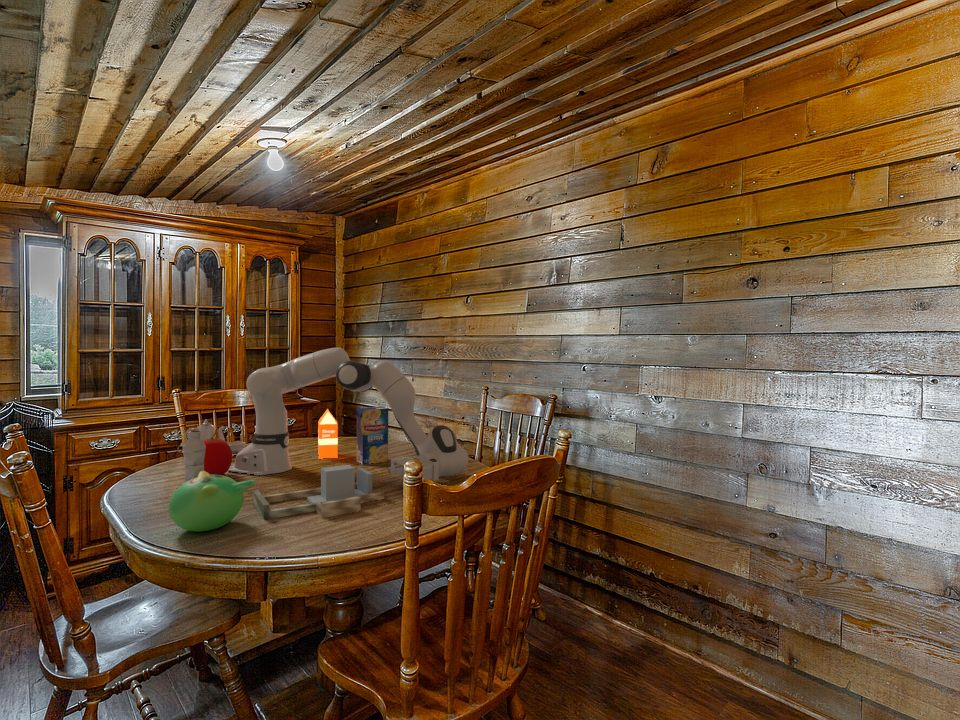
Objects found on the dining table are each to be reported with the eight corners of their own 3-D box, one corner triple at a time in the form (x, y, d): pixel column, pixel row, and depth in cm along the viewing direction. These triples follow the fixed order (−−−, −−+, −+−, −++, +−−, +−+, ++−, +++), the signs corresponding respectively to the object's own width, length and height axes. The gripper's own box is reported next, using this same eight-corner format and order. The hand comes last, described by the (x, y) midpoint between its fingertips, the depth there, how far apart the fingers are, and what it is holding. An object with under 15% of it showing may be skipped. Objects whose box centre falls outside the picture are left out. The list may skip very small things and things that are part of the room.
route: (365, 486, 178) (365, 475, 178) (393, 505, 159) (393, 492, 159) (252, 503, 158) (252, 490, 158) (269, 527, 139) (269, 512, 139)
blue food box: (388, 461, 214) (388, 408, 213) (362, 465, 208) (362, 409, 207) (381, 458, 220) (381, 406, 219) (356, 461, 214) (356, 407, 213)
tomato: (188, 480, 182) (187, 440, 181) (200, 472, 193) (199, 434, 193) (226, 479, 184) (226, 439, 183) (236, 471, 195) (236, 433, 195)
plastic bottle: (211, 491, 170) (210, 430, 169) (191, 497, 163) (191, 433, 163) (197, 489, 172) (197, 428, 171) (178, 494, 166) (177, 432, 165)
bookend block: (361, 491, 174) (361, 461, 173) (372, 498, 166) (372, 467, 165) (306, 499, 164) (306, 468, 163) (314, 508, 156) (314, 475, 155)
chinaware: (250, 456, 227) (251, 417, 228) (238, 461, 211) (239, 419, 212) (181, 457, 223) (183, 418, 224) (163, 462, 207) (165, 420, 208)
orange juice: (336, 453, 227) (336, 408, 226) (337, 458, 218) (338, 410, 217) (317, 454, 224) (318, 408, 223) (318, 459, 216) (318, 411, 215)
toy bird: (214, 513, 149) (214, 462, 149) (259, 522, 143) (259, 469, 142) (154, 535, 133) (153, 477, 132) (202, 546, 126) (201, 486, 126)
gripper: (413, 451, 190) (377, 455, 182) (440, 463, 173) (402, 468, 165) (412, 468, 190) (377, 473, 183) (440, 482, 173) (402, 488, 166)
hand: (389, 471), depth 174 cm, fingers closed
